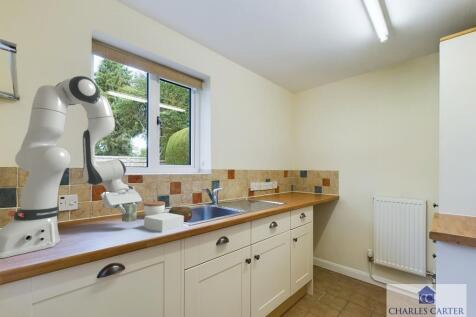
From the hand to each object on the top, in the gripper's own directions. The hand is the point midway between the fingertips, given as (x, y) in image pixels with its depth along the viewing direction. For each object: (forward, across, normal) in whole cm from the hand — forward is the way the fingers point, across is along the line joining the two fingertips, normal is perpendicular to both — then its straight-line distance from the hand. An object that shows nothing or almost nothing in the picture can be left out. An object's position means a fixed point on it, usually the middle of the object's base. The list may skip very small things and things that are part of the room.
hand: (130, 212), depth 114 cm
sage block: (+3, 0, +4) cm, 4 cm away
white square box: (+15, +11, -3) cm, 18 cm away
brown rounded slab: (+14, +27, -2) cm, 30 cm away
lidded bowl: (0, +27, +12) cm, 29 cm away
